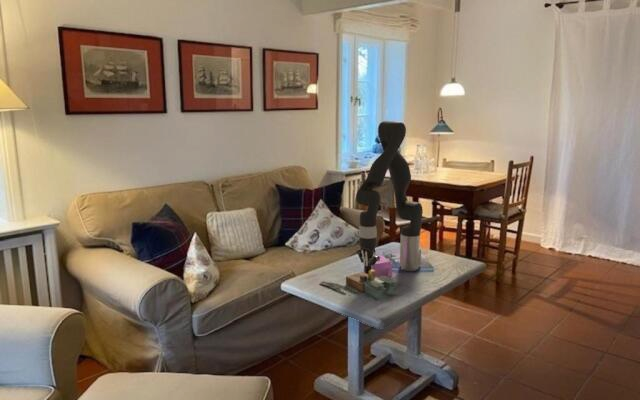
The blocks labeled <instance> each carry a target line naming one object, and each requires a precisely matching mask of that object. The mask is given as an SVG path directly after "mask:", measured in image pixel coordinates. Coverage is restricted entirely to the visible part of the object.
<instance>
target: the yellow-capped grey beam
mask: <svg viewBox="0 0 640 400" xmlns="http://www.w3.org/2000/svg"><path fill="white" fill-rule="evenodd" d="M371 279H372V280H374V281H377V282H379V283H381V284H383V285H384V286H385V282H384V281H382V280H380V279H378V278H375V270H373V269H372V270H369V277H368V280H371Z"/></svg>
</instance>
